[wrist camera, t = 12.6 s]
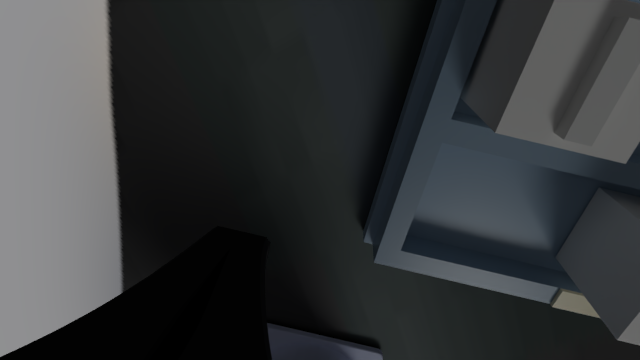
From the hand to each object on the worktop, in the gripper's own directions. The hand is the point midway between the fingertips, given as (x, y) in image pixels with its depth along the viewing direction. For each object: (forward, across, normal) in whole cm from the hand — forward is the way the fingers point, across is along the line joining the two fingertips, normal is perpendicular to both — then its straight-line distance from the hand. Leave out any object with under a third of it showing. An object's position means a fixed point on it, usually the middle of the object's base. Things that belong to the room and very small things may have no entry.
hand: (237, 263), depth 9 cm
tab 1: (+9, -8, -6) cm, 13 cm away
